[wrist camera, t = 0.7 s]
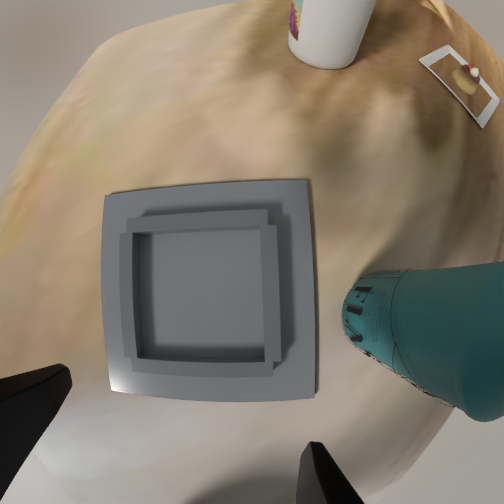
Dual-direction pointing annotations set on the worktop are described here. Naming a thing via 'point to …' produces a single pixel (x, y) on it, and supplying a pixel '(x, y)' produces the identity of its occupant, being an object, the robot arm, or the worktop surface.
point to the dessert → (464, 81)
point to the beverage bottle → (436, 331)
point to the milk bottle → (328, 31)
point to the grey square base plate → (210, 292)
